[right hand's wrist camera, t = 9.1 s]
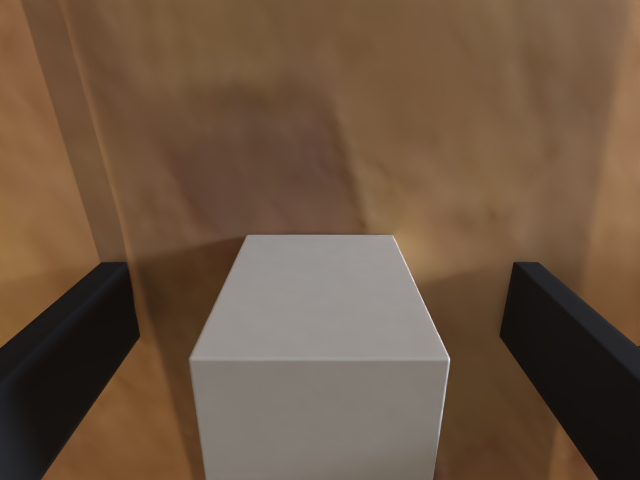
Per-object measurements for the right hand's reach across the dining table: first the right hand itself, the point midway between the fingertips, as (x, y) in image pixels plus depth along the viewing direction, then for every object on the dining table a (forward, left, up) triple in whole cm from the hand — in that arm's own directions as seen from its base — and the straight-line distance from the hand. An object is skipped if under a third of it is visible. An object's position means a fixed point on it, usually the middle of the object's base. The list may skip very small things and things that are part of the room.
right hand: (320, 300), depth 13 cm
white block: (0, 0, 0) cm, 0 cm away
